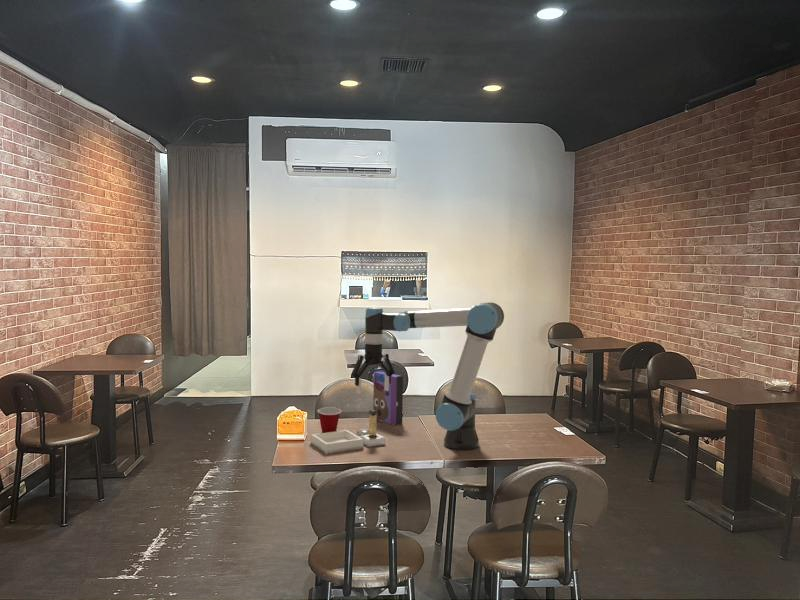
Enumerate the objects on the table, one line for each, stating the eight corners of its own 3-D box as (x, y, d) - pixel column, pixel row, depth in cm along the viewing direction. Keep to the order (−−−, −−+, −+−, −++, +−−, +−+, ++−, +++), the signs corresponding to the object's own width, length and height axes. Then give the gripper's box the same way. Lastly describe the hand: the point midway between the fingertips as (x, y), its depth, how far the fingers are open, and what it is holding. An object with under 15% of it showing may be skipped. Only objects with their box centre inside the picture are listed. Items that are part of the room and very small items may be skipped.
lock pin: (378, 443, 268) (378, 411, 267) (370, 444, 266) (371, 412, 265) (374, 441, 271) (374, 409, 270) (367, 442, 269) (367, 410, 268)
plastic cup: (323, 440, 272) (324, 413, 272) (313, 434, 281) (313, 408, 281) (345, 437, 278) (345, 410, 278) (334, 431, 287) (334, 406, 287)
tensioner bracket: (385, 444, 267) (385, 436, 267) (368, 446, 263) (368, 438, 263) (368, 435, 281) (368, 428, 281) (352, 437, 277) (352, 430, 277)
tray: (363, 448, 261) (363, 439, 260) (326, 453, 252) (326, 444, 252) (346, 438, 275) (346, 429, 275) (310, 443, 267) (311, 434, 267)
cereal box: (373, 418, 314) (373, 372, 313) (380, 417, 317) (380, 371, 316) (394, 425, 300) (395, 376, 299) (402, 424, 303) (402, 375, 302)
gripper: (394, 341, 276) (393, 388, 277) (343, 343, 264) (343, 392, 265) (402, 342, 269) (402, 391, 270) (351, 345, 257) (350, 395, 258)
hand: (372, 391), depth 267 cm, fingers open, 13 cm apart
